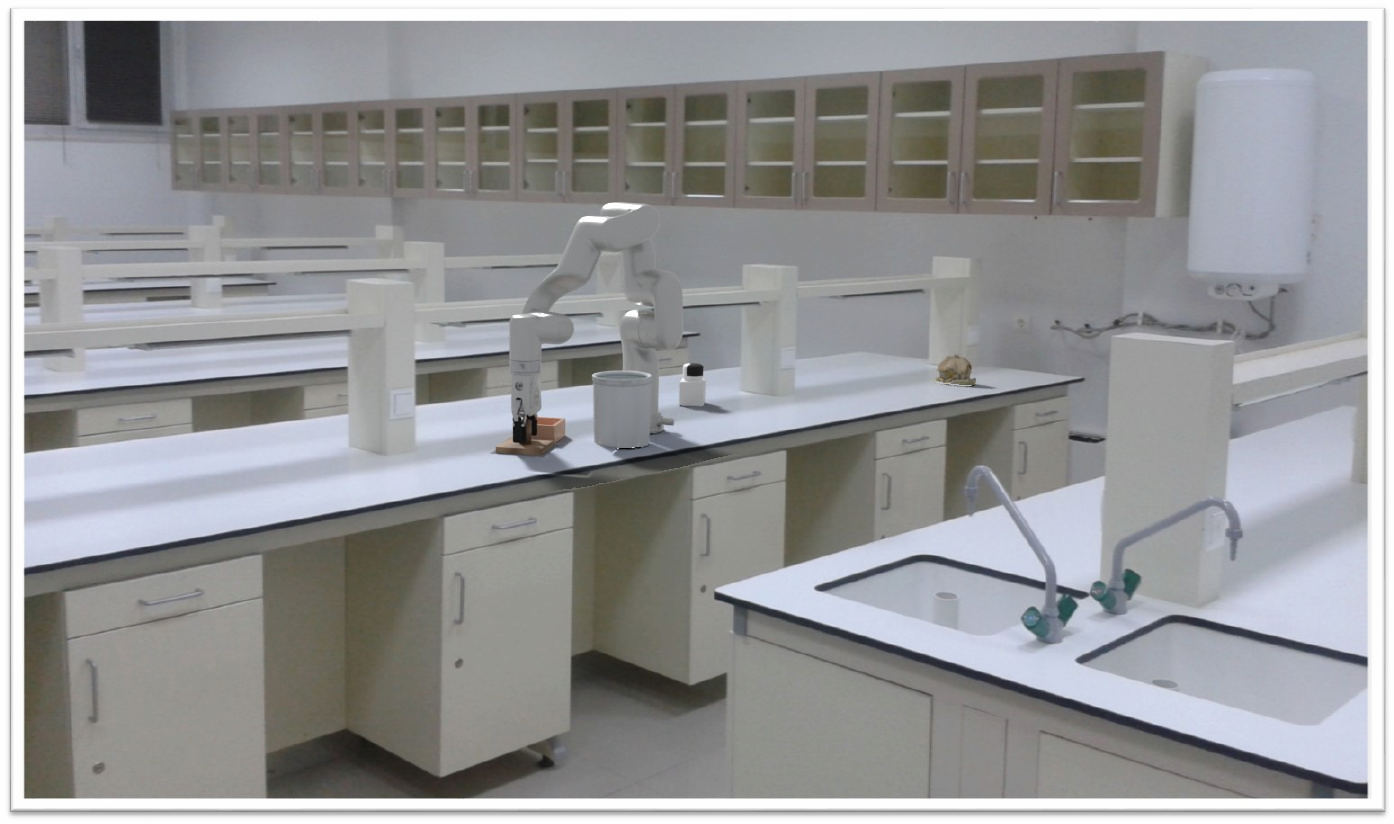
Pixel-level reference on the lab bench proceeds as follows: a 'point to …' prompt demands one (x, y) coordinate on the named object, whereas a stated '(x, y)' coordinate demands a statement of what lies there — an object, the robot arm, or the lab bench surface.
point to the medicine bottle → (692, 386)
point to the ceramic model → (955, 371)
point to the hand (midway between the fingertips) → (525, 438)
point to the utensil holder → (621, 408)
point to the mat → (529, 455)
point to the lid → (525, 444)
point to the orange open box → (550, 429)
